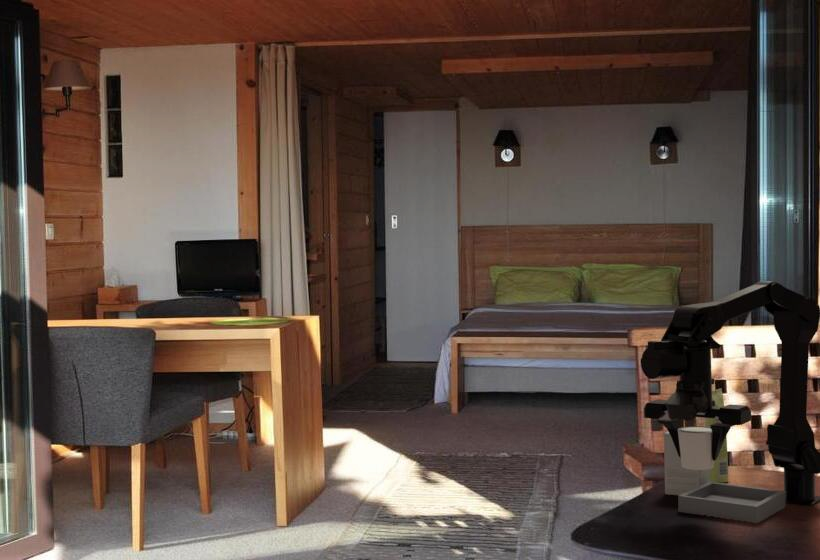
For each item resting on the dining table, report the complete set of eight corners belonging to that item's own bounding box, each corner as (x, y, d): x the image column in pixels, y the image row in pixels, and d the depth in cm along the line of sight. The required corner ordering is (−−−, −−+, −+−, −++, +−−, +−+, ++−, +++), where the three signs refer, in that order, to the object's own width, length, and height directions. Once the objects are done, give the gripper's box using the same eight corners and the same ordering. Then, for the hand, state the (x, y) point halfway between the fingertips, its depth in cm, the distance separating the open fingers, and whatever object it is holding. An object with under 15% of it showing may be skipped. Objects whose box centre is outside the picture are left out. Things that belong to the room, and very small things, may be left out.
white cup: (718, 470, 191) (717, 432, 191) (679, 470, 193) (678, 432, 192) (715, 462, 198) (714, 425, 198) (677, 462, 199) (676, 425, 199)
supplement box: (710, 491, 216) (710, 429, 215) (699, 498, 210) (699, 435, 209) (675, 487, 220) (674, 426, 219) (663, 494, 213) (662, 432, 213)
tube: (699, 478, 228) (698, 388, 227) (722, 477, 228) (721, 387, 228) (709, 484, 222) (708, 391, 222) (732, 483, 223) (732, 390, 222)
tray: (709, 496, 211) (709, 481, 211) (785, 506, 202) (785, 491, 202) (678, 511, 199) (678, 495, 199) (757, 523, 190) (757, 506, 190)
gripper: (629, 377, 194) (631, 461, 195) (727, 382, 183) (730, 472, 183) (655, 370, 203) (657, 450, 204) (751, 374, 191) (753, 460, 192)
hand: (697, 458), depth 195 cm, fingers closed on white cup, 6 cm apart
